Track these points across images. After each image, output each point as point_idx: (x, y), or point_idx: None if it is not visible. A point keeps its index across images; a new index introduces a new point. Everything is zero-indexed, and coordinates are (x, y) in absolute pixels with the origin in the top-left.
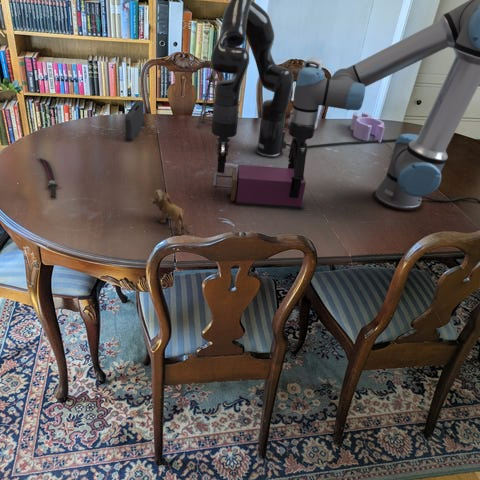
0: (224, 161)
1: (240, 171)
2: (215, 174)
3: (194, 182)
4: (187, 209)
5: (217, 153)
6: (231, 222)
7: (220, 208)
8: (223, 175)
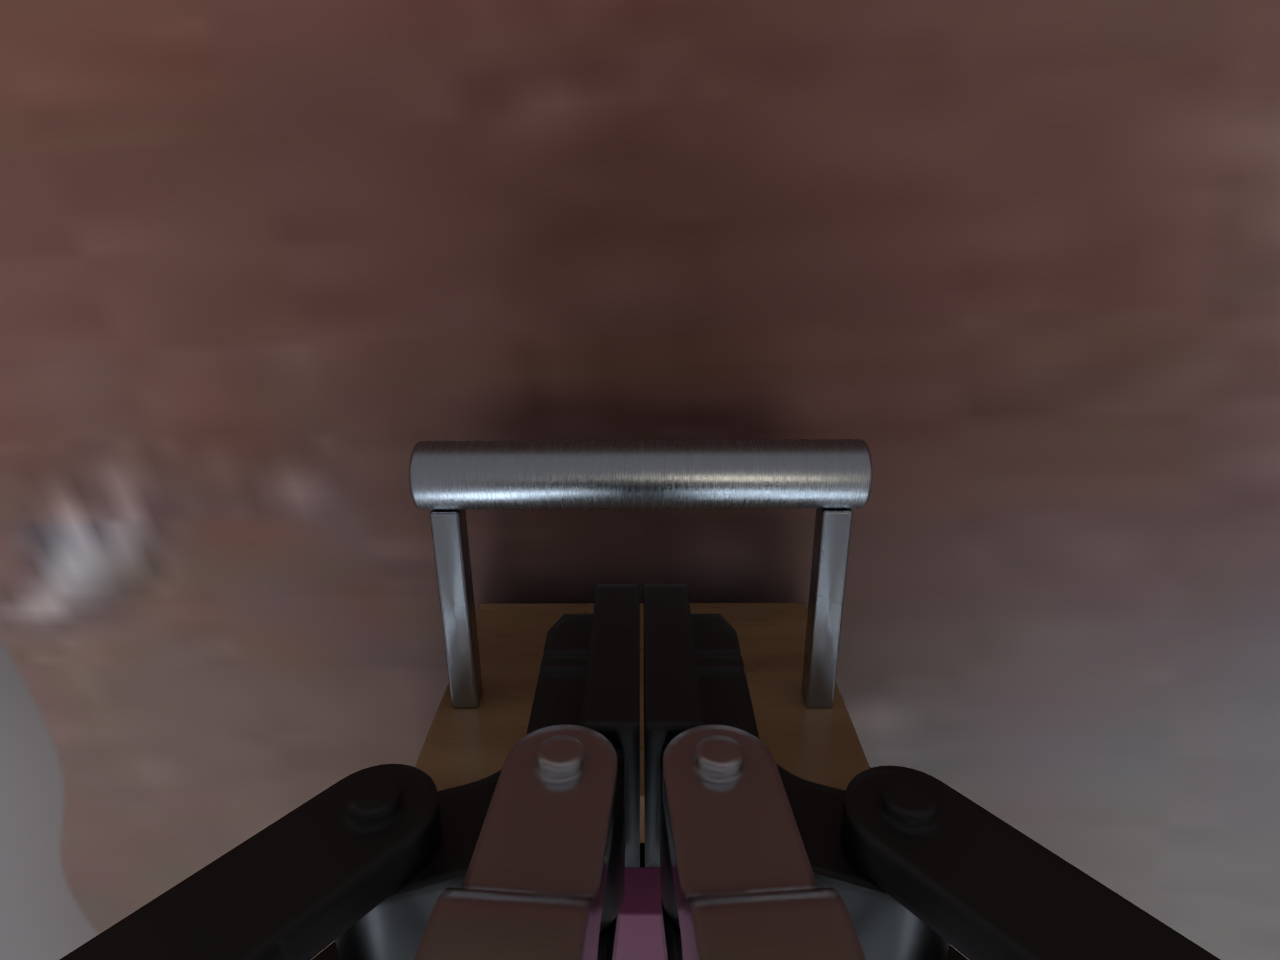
0: (323, 956)
1: (631, 938)
2: (805, 487)
3: (1006, 114)
4: (185, 72)
5: (431, 950)
6: (85, 591)
7: (341, 482)
8: (816, 598)
